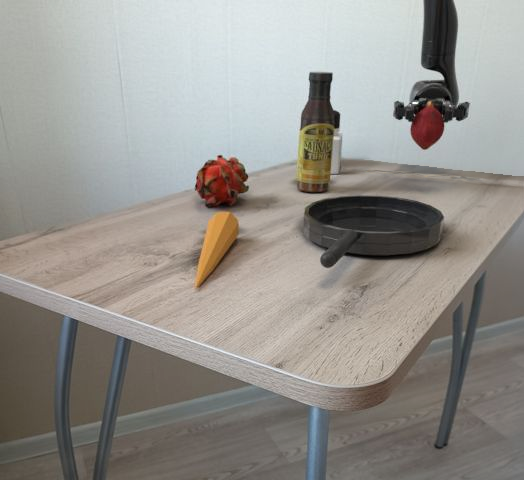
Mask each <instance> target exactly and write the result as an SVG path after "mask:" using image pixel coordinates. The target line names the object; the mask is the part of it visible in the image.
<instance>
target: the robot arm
mask: <svg viewBox="0 0 524 480" xmlns="http://www.w3.org/2000/svg"><path fill="white" fill-rule="evenodd" d="M422 2H423V3H422V5H423V21H422V35H421V48H420V51H421V52H420V66H421V67H422V68H423V69H424V70H428V71H432V72H437V73H439V74H440V75H441V76H442V77H443V79H426V80H425V79H423V80H418V81H416V82H415V83H414V84H413V85H412V87H411V89H410V92H409V99H408V101H409V103H408V104H407V105H405V103H404V101H403V102H402V101H400V100H396V101H394V102H393V109H392V111H393V112H392V117H394V119H395V120H398V121H402V120H404V119H405V120H406V121H408V123H412V122H413V119H414V118H415V116H416V115H417V114H418V113H419V112H420V111H421V110H423V109H424V108H425V107H426V105H427V103H428V102H429V101H431V102H432V103H433V106H434V108H435V109H437V110H438V111H439V112H440V113H441V115H442V117H443V120H444V124H447V123H449V122H451V121H453V119H455V121H457V122H461V121H464V120H465V119H467V118H468V117H469V113H470V112H469V111H470V103H471V102H469V101H464V102H460V101H459V100H460V92H459V85H458V79H457V74H456V51H457V44H458V43H457V42H458V32H459V17H458V10H457V7H456V4H455V1H454V0H422Z"/></svg>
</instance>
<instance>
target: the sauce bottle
mask: <svg viewBox="0 0 524 480" xmlns="http://www.w3.org/2000/svg"><path fill="white" fill-rule="evenodd" d="M333 74H334V73H333V72H332V71H309V73H308V82H309V88H308V96H307V98H308V99H307V101H306V104H305V105H304V107H303V109H302V111H301V114H300V126H299V134H298V149H297V162H296V163H297V166H296V180H297V181H296V188H297V190H299V191H301V192H305V193H324V192H326V191H328V188H329V184H330V182H331V174H330V172H331V161H332V150H333V138H334V110H335V109H334V108H333V106H332V103H331V90H332V89H331V87H332V82H333V78H334V77H333V76H334V75H333Z"/></svg>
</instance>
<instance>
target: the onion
mask: <svg viewBox="0 0 524 480" xmlns="http://www.w3.org/2000/svg"><path fill="white" fill-rule="evenodd" d="M444 131H445V123H444V120H443V117H442V115H441V113H440V112H439V111H438V110H437V109H435V108H434V106H433V103H432V102H431V101H429V102H428V103H427V105H426V107H425V108H424V109H423V110H421V111H420V112H419V113H418V114H417V115H416V116H415V118H414V119H413V122H411V124H410V131H409V132H410V136H411V139H412V140H413V142H414V143H415V144H416V145H417V146H418V147H419V148H420V149H421V150H423V151H426V150H429V148H431V147H433V146H434V145H435V144H436V143H437V142H438V141H439V140H440V139H441V138H442V136H443V134H444Z"/></svg>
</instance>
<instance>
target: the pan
mask: <svg viewBox="0 0 524 480" xmlns="http://www.w3.org/2000/svg"><path fill="white" fill-rule="evenodd" d="M444 222H445V216H444V214H443V212H442V211H441V210H440V209H438V208H436V207H435V206H432V205H431V204H427V203H424V202H421V201H417V200H415V199H408V198H403V197H397V196H389V195H388V196H387V195H378V194H377V195H373V194H356V195H355V194H354V195H339V196H334V197H327V198H321V199H319V200H315V201H313V202H311V203H310V204H308V205H307V206H305V207H304V212H303V231H302V232H303V233H302V234H303V235H304V236H305V237H306V238H307V239H308V240H309V241H310V242H312V243H314V244H316V245H318V246H320V247H324V248H327V249H329V248H330V247H331V246H332V245H333V244H334V243H335V242H336V241H337V240H338V239H339V238H340V237H341V236H342V235H343V234H344V233H345V232H346V231H348V230H354V231H356V232H357V234H358V240H357V242H356V243H355V244H354V245H353V246H352V247H351V248H350V249H349V250H348V251H347V252H346V253H347V254H353V255H358V256H359V255H361V256H373V257H374V256H375V257H376V256H377V257H381V256H382V257H383V256H386V257H387V256H399V255H406V254H407V255H408V254H413V253H417V252H422V251H425V250H428V249H430V248H432V247H434V246H436V245H439V242H440V240H441V239H442V235H443V234H442V233H443V228H444ZM346 253H345V254H346Z"/></svg>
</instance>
